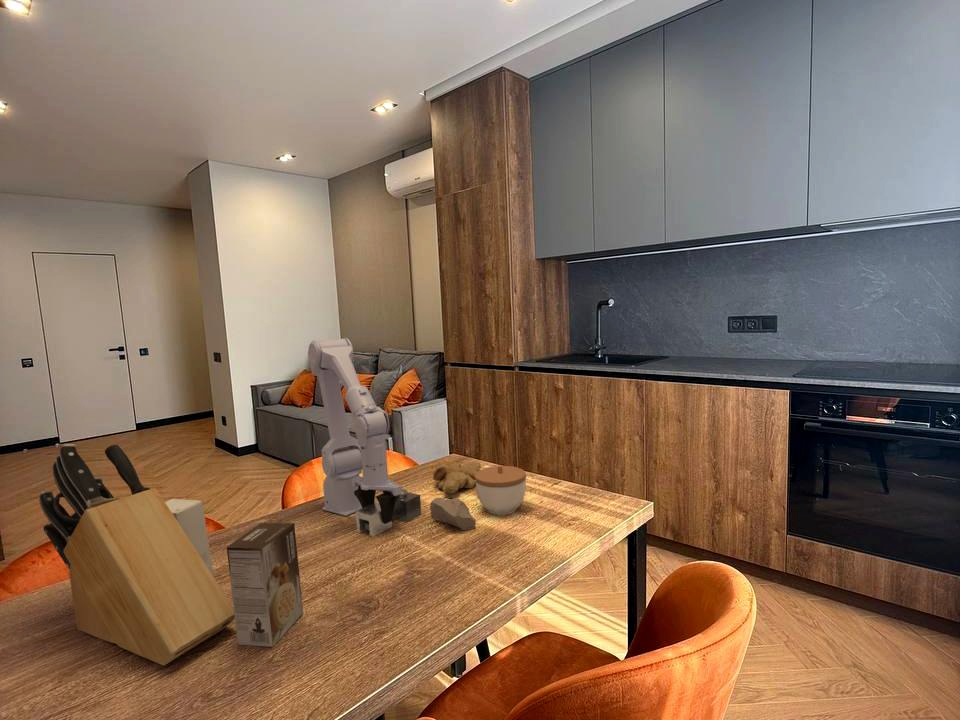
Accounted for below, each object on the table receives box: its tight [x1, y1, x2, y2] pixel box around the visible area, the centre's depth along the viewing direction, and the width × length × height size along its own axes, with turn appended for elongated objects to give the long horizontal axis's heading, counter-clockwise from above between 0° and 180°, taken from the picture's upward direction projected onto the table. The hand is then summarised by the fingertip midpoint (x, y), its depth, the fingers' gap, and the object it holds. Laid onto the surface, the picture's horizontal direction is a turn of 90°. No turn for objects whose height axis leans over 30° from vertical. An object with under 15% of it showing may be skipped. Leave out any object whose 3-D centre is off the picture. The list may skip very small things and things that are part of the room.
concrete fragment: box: [429, 496, 477, 531], centre depth 121 cm, size 7×14×6 cm, turn 28°
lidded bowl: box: [474, 464, 527, 516], centre depth 126 cm, size 13×13×11 cm
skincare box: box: [164, 498, 214, 575], centre depth 99 cm, size 8×7×16 cm
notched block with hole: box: [355, 502, 393, 538], centre depth 119 cm, size 5×6×5 cm
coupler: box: [365, 488, 422, 531], centre depth 123 cm, size 8×14×6 cm, turn 145°
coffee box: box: [226, 522, 304, 648], centre depth 82 cm, size 9×6×16 cm
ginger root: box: [432, 462, 482, 494], centre depth 145 cm, size 16×16×8 cm
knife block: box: [38, 443, 235, 667], centre depth 84 cm, size 11×35×31 cm, turn 63°
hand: (378, 519), depth 120 cm, fingers closed on notched block with hole, 5 cm apart
